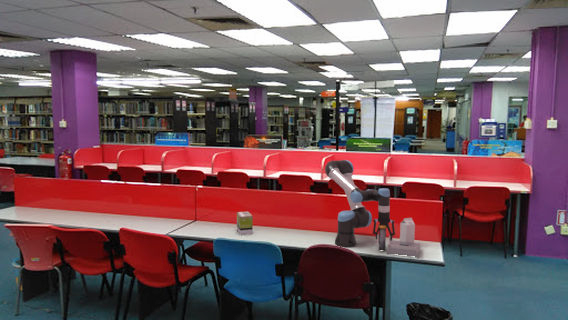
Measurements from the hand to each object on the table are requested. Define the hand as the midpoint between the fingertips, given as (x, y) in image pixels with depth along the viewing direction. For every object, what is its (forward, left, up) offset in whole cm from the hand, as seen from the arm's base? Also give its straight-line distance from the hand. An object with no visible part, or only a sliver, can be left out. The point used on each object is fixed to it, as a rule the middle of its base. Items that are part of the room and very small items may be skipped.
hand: (383, 244), depth 264 cm
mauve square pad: (+13, +3, -4) cm, 14 cm away
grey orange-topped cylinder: (-1, 0, -4) cm, 4 cm away
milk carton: (+14, +22, -4) cm, 26 cm away
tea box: (-107, +3, -4) cm, 107 cm away
